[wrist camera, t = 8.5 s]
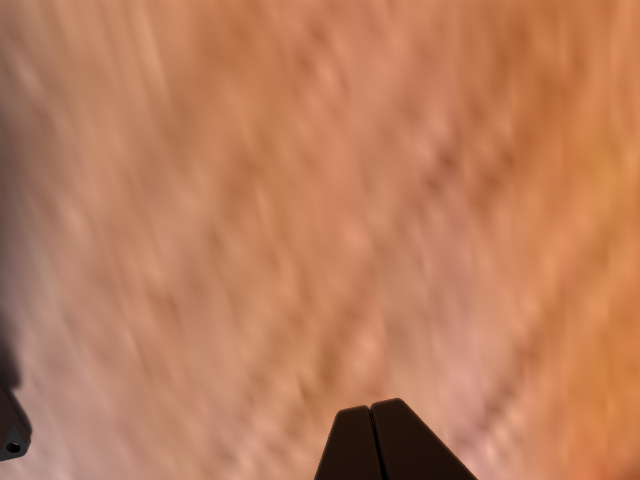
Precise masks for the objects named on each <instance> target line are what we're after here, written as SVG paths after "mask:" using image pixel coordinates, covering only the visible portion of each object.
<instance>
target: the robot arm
mask: <svg viewBox="0 0 640 480" xmlns="http://www.w3.org/2000/svg"><path fill="white" fill-rule="evenodd" d="M370 411H371V413H370ZM371 416H372V417H371ZM372 420H373V421H372ZM373 425H374V426H373ZM13 443H16V444H18V445H16V444H13ZM30 444H31V438H30V436H29V434H28V433H27V431H26V429H25V428H24V426H23V424H22V423H21V421H20V420H19V418H18V415H17V413H16V411H15V409H14V408H13V406H12V404H11V403H10V401H9V399H8V398H7V396H6V394H5V393H4V391H3V390H2V388H1V386H0V461H5V460H9V459H14V458H18V457H21V456H24V455H25V454H26V453H27V451H28V448H29V446H30ZM314 480H478V479H477V478H476V477H475V476H474V475H473V474H472V473H471V472H470V470H469V469H468V468H467V467H466V466H465V465H464V464H463V463H462V462H461V461H460V460H459V459H458V458H457V457H456V456H455V455H454V454H453V452H452V451H451V450H450V449H449V448H448V447H447V446H446V445H445V444H444V443H443V442H442V441H441V440H440V439H439V438H438V437H437V436H436V434H435V433H434V432H433V431H432V430H431V429H430V428H429V427H428V426H427V425H426V424H425V423H424V422H423V421H422V420H421V419H420V418H419V417H418V415H417V414H416V413H415V412H414V411H413V410H412V409H411V408H410V407H409V406H408V405H407V404H406V403H405V402H404V401H403V400H402V399H400V398H393V399H389V400H384V401H380V402H375V403H373V404H372V405H371V407H370V409H369V407H368V406H366V405H361V406H357V407H352V408H347V409H343V410H340V411H339V412H338V413H337V414H336V416H335V419H334V422H333V425H332V428H331V431H330V434H329V437H328V440H327V443H326V445H325V448H324V451H323V454H322V457H321V460H320V463H319V466H318V469H317V472H316V475H315V478H314Z"/></svg>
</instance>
